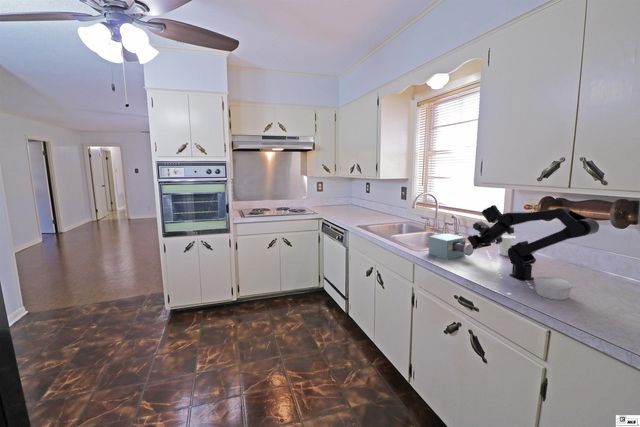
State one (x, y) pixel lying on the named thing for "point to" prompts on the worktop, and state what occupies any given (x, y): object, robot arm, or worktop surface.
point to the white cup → (506, 244)
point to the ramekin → (552, 288)
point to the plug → (463, 248)
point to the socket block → (445, 245)
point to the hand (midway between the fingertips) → (473, 248)
